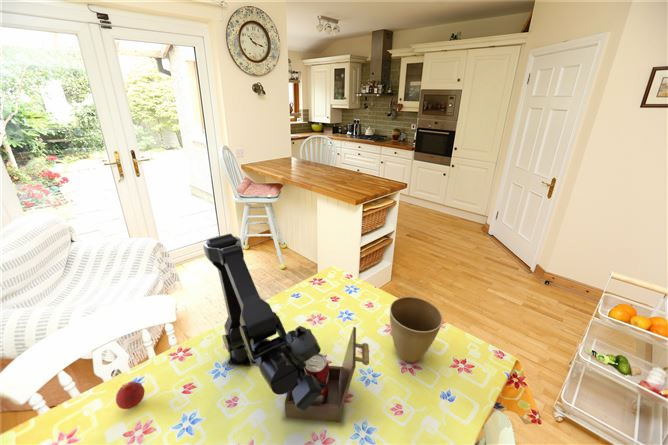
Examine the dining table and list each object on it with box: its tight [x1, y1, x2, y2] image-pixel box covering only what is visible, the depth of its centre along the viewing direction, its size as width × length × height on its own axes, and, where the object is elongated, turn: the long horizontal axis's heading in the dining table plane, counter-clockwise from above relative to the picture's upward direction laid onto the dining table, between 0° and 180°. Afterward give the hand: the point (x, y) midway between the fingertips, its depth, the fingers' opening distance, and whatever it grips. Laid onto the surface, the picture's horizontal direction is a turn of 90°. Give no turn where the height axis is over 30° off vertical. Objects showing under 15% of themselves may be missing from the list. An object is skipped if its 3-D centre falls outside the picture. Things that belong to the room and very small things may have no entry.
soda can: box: [304, 352, 330, 404], centre depth 74 cm, size 7×7×12 cm
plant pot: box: [389, 296, 444, 364], centre depth 87 cm, size 15×15×16 cm
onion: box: [115, 381, 146, 410], centre depth 72 cm, size 6×6×8 cm
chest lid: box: [340, 326, 370, 408], centre depth 71 cm, size 14×12×4 cm
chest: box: [284, 365, 342, 423], centre depth 75 cm, size 14×12×5 cm
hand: (320, 375), depth 74 cm, fingers closed on soda can, 7 cm apart
